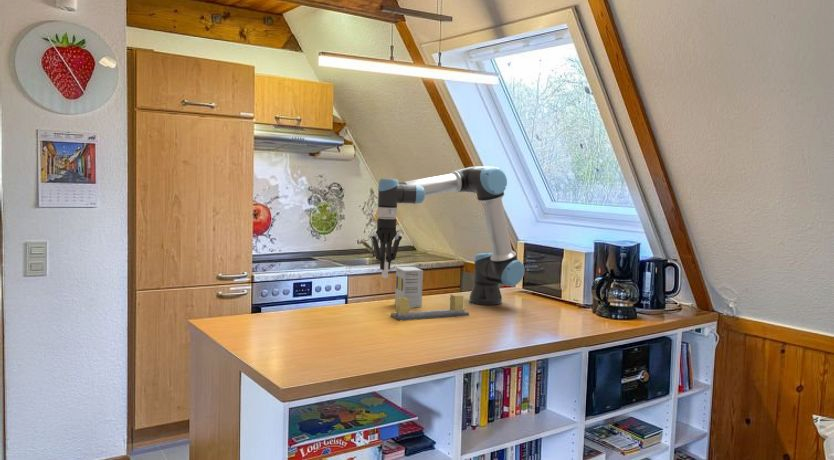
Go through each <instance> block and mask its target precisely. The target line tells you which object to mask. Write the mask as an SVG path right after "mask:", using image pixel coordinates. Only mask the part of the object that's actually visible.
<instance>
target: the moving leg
mask: <svg viewBox="0 0 834 460" xmlns="http://www.w3.org/2000/svg"><path fill="white" fill-rule="evenodd" d="M409 312H410V308H409V298H407V297H396V304H395V313H399V314H409Z"/></svg>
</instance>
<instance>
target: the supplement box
mask: <svg viewBox="0 0 834 460" xmlns="http://www.w3.org/2000/svg"><path fill="white" fill-rule="evenodd" d="M423 279H424V270H423V269H420V268H418V267H416V266H403V267H402V266H399V267H398V266H397V267H396V272H395V290H394V291H395V293H394V305H396V297H407V298H409V309H415V308H414V307H421V308H422V304H423V281H424V280H423Z"/></svg>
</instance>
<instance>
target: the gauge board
mask: <svg viewBox="0 0 834 460" xmlns="http://www.w3.org/2000/svg"><path fill="white" fill-rule="evenodd" d="M464 297H465V296H464V295H462V294H460V293H456V294H450V297H449V308H448V309H446V308H445V309H434V310H416V311H409V314H399V313H396V312H391V313H390V317H391V316H392V318H393V317H394V318H393V319H395V320H397V321H400V320H403V321H412V320H413V321H414V319H417V320H428V319H441V318H455V317H467V316H470V312H468V311H466V310H465V308H464ZM400 322H401V321H400Z"/></svg>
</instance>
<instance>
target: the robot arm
mask: <svg viewBox="0 0 834 460" xmlns="http://www.w3.org/2000/svg"><path fill="white" fill-rule="evenodd" d="M507 184H508V179H507V175H506V174H505V172H504V171H503V170H502V169H501V168H499V167H496V166H492V165H491V166H490V165H489V166H487V165H486V166H482V165H480V166H479V165H475V166H469V167H465V168H461V169H457V170H452V171H450V173H447V174H442V175H436V176H430V177H423V178H418V179H412V180H406V181H401V182H399V180H398V179H397V178H380V180H379V182H378V189H377V191H378V192H377V193H378V195H377V214H376V215H377V220H376V221H377V222H376V223H377V224H376V231H375V233H374V234H373V235H370V240H371V241H372V246H373V253H374V256H375V257H374V258H375V259H376V260H377V261H379V269H380V270H381V278H382V279H388V278H389V270H391V262H392V261H395V260H396V257H397V253H398V249H399V246H400V242H401V241H402V239H403V236H402V235H399V234H398V232H397V219H396V218H397V215H398V204H414V205H416V204H422V203H423V202H424V200H425V197H427V196H432V195H433V196H434V195H437V194H442V193H448V192H453V193H464V192H465V193H473V194H475V193H476V198H477V200H478V202H480V203H481V204H482V208H483V214H484V218H485V223H486V228H487V233H488V237H489V242H490V248H491V251H492V252H486V253H485V252H484V253H482V252H481V253H477V254H476V255H475V257H474V266H473V267H474V272H473V276H474V277H473V287H472V289H471V291H470V294H469V301H468V302H470V303H473V304H477V305H484V306H496V305H501V304H502V303H503V296H502V293H501V289H500V284H501V285H503V286H508V287H509V286H510V287H513V286H517V285H518V284H520V283H521V281H522V280H523V277H525V271H526V270H525V266H524V263H523V262H521V261H520V260H518V256H517V253H516V251H514V250H513V249H512V245H511V240H510V235H509V229H508V223H507V219H506V214H505V209H504V204H503V197H504V196H505V191H506V189H507V186H508V185H507ZM378 240H379V242H378ZM393 240H394V241H393ZM379 244H380V245H379Z"/></svg>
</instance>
